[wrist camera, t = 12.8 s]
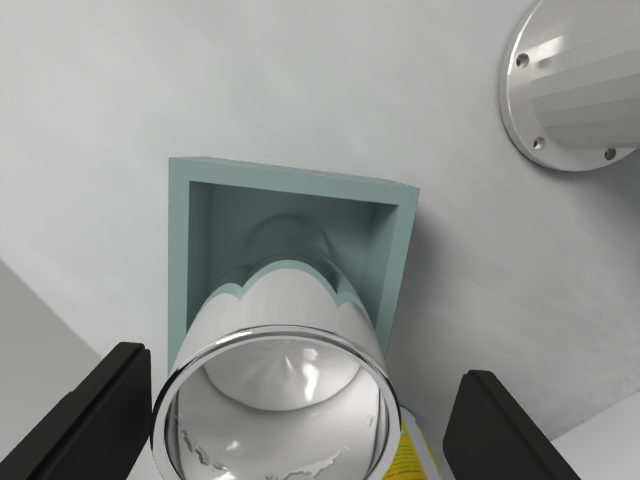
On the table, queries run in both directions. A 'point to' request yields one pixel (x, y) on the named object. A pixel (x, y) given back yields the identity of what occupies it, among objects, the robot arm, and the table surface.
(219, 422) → the beer glass
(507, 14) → the table surface
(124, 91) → the table surface
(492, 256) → the table surface
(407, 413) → the supplement bottle
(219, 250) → the box
